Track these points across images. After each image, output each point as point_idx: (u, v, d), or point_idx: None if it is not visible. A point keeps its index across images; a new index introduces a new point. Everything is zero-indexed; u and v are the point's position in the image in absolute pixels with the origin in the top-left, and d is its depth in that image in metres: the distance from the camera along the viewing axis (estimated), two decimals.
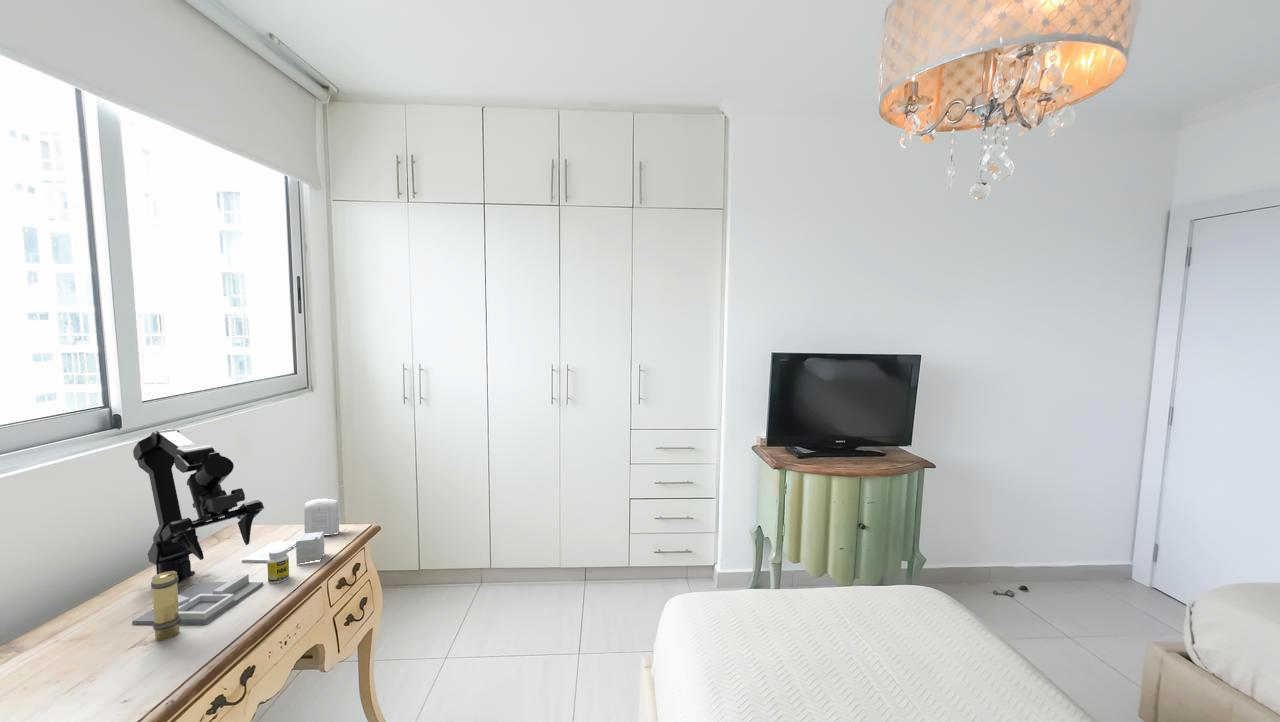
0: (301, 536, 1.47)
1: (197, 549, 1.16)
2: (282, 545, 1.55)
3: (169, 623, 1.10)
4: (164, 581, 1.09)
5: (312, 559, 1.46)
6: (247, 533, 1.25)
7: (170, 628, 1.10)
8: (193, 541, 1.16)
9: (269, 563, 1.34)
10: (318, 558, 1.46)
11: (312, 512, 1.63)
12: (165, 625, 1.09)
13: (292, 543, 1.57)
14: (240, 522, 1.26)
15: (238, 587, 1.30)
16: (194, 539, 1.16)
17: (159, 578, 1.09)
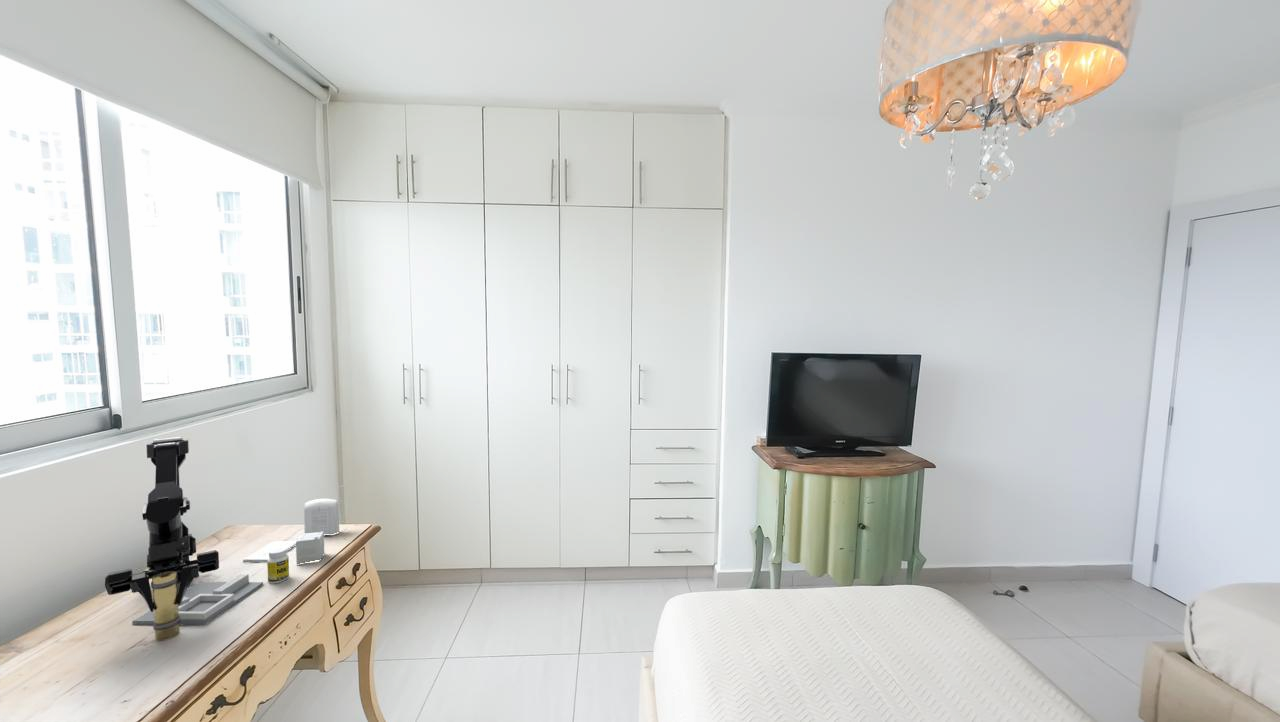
0: (301, 536, 1.47)
1: (147, 600, 1.08)
2: (282, 545, 1.56)
3: (169, 623, 1.10)
4: (164, 581, 1.09)
5: (312, 559, 1.46)
6: (180, 590, 1.12)
7: (170, 628, 1.10)
8: (145, 591, 1.09)
9: (269, 563, 1.34)
10: (318, 558, 1.46)
11: (312, 512, 1.63)
12: (165, 625, 1.09)
13: (292, 542, 1.57)
14: None
15: (238, 587, 1.30)
16: (146, 588, 1.09)
17: (159, 578, 1.09)
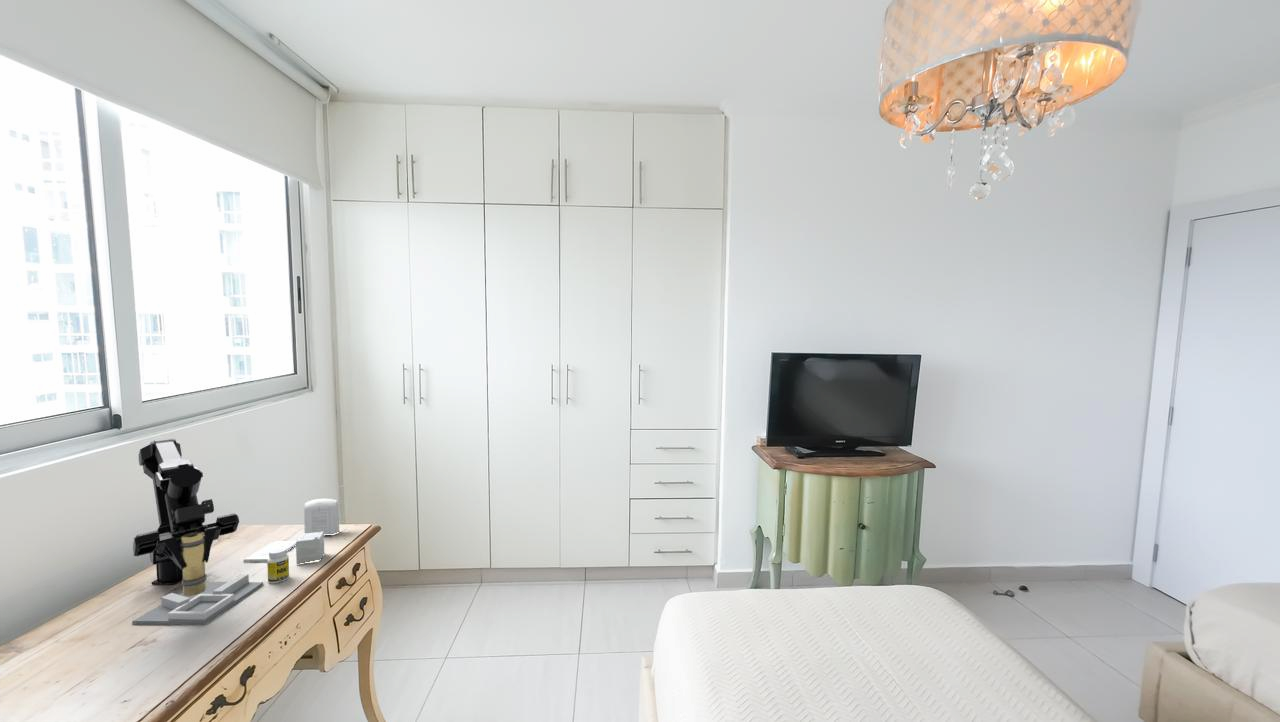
0: (301, 536, 1.47)
1: (177, 558, 1.15)
2: (283, 544, 1.56)
3: (198, 579, 1.17)
4: (194, 540, 1.16)
5: (312, 559, 1.46)
6: (206, 549, 1.19)
7: (199, 584, 1.17)
8: (174, 550, 1.15)
9: (269, 563, 1.34)
10: (318, 558, 1.46)
11: (312, 512, 1.63)
12: (195, 582, 1.17)
13: (293, 542, 1.57)
14: None
15: (238, 587, 1.30)
16: (175, 548, 1.16)
17: (189, 537, 1.16)
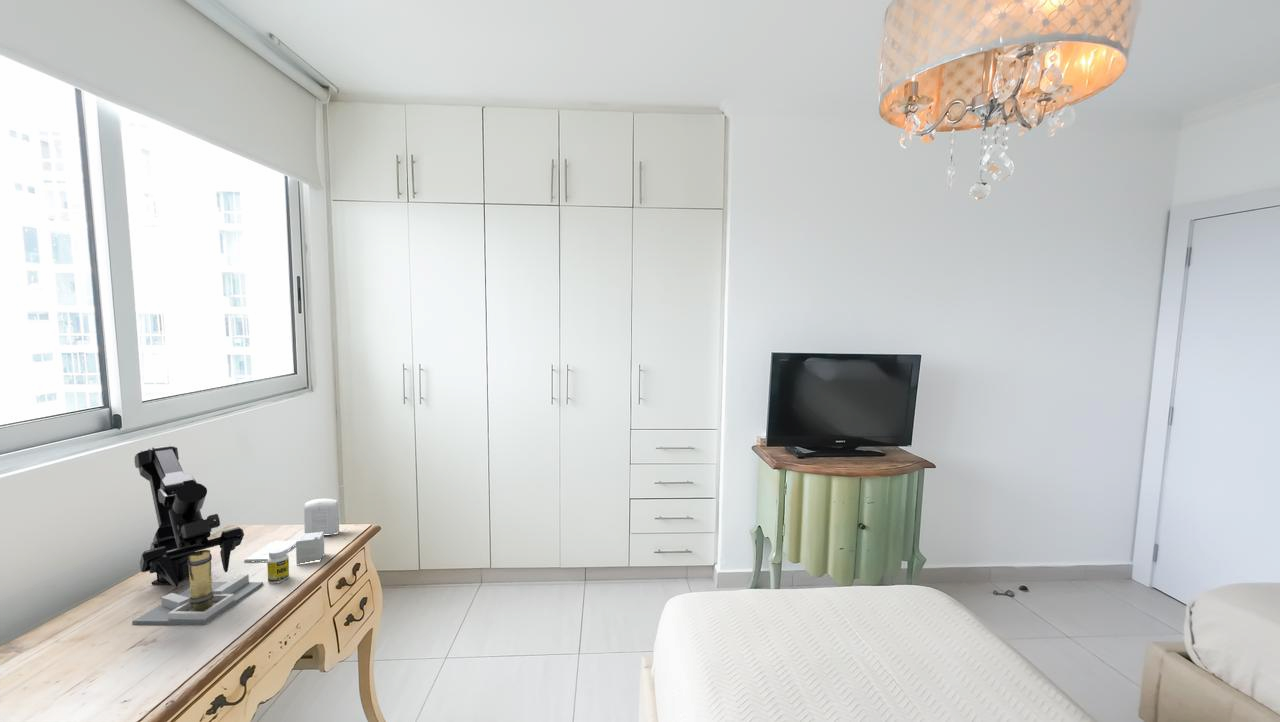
0: (301, 536, 1.47)
1: (171, 577, 1.15)
2: (283, 544, 1.56)
3: (206, 596, 1.19)
4: (201, 558, 1.18)
5: (312, 559, 1.46)
6: (225, 560, 1.23)
7: (207, 601, 1.19)
8: (167, 569, 1.15)
9: (269, 563, 1.34)
10: (318, 558, 1.46)
11: (312, 512, 1.63)
12: (203, 599, 1.19)
13: (293, 542, 1.58)
14: (221, 551, 1.26)
15: (238, 587, 1.30)
16: (169, 567, 1.16)
17: (196, 556, 1.18)
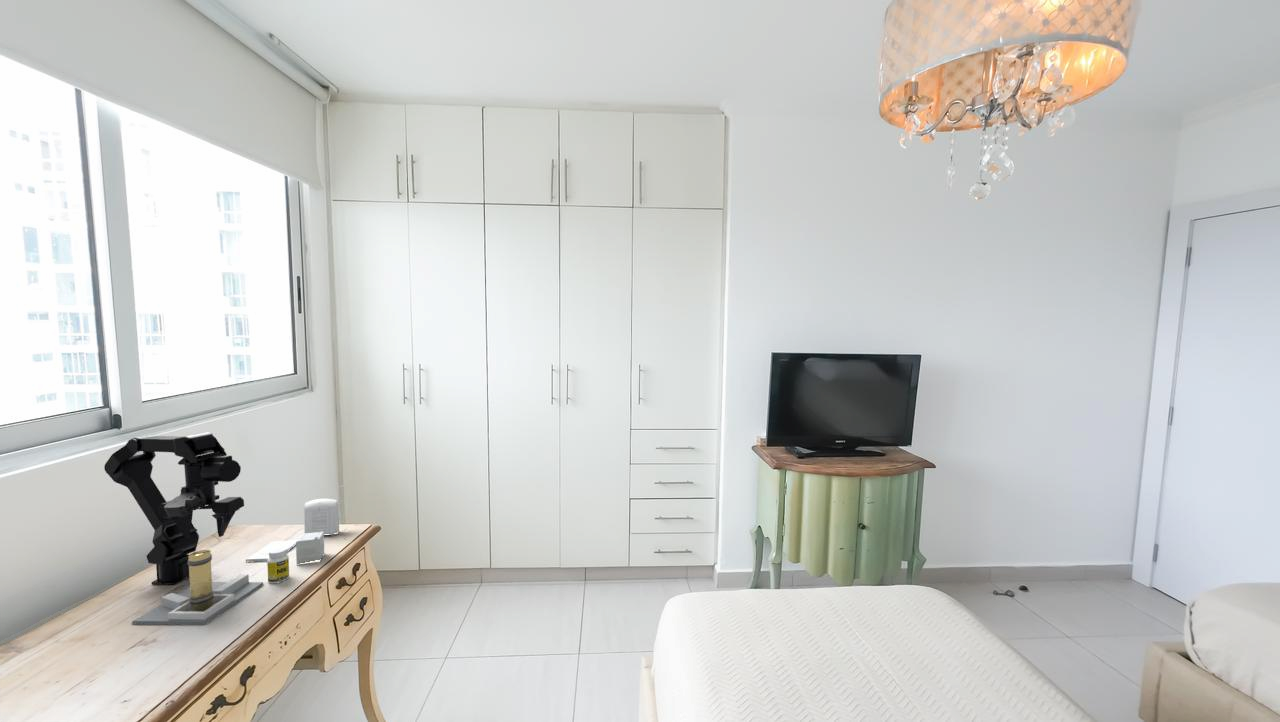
0: (301, 536, 1.47)
1: (180, 530, 1.32)
2: (284, 544, 1.56)
3: (206, 596, 1.19)
4: (202, 558, 1.18)
5: (312, 559, 1.46)
6: (218, 528, 1.32)
7: (207, 601, 1.19)
8: (177, 523, 1.32)
9: (269, 563, 1.34)
10: (318, 558, 1.46)
11: (312, 512, 1.63)
12: (203, 599, 1.19)
13: (293, 542, 1.58)
14: None
15: (238, 587, 1.30)
16: (178, 522, 1.31)
17: (197, 556, 1.18)
